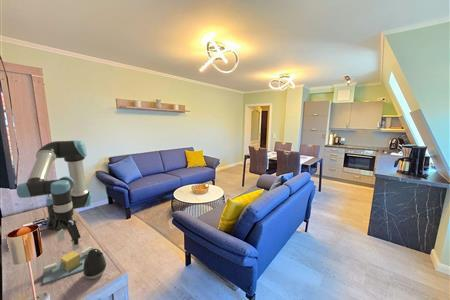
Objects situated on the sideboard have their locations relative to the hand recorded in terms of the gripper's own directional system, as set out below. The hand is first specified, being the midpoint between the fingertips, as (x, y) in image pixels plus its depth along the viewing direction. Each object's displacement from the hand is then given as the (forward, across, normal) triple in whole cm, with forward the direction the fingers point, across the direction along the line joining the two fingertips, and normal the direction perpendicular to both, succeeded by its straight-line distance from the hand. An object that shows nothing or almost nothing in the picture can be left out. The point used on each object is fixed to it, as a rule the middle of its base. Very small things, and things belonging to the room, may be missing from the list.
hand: (68, 244), depth 105 cm
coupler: (+13, 0, 0) cm, 13 cm away
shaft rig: (+14, 0, 0) cm, 14 cm away
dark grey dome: (+14, +17, +3) cm, 22 cm away
